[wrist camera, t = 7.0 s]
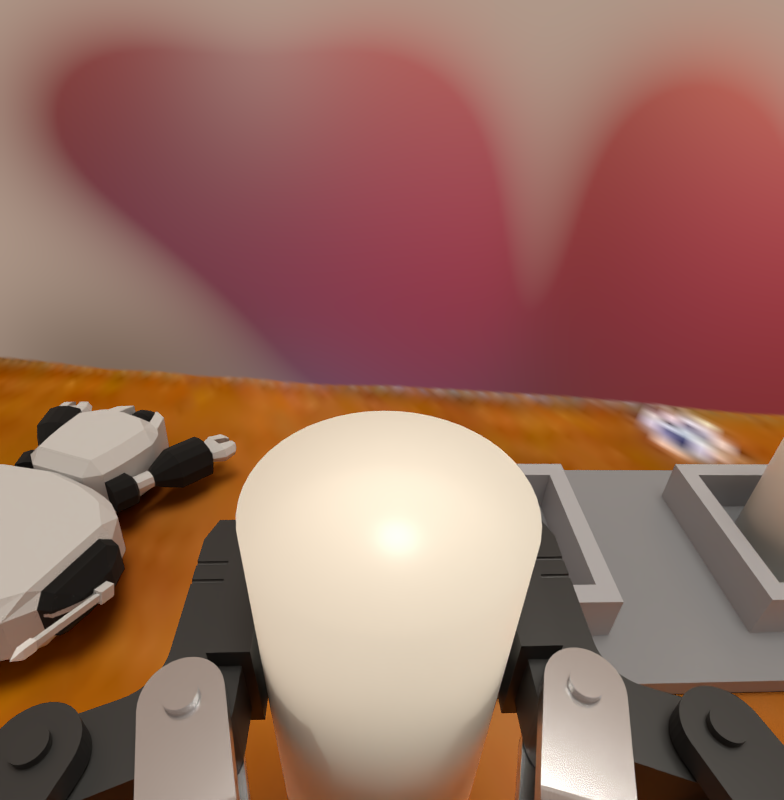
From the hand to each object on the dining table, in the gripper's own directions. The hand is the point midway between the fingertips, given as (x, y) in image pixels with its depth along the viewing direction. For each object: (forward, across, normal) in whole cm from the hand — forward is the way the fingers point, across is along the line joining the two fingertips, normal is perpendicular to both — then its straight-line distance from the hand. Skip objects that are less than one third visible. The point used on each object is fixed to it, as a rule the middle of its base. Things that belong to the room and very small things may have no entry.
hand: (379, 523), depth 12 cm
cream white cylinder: (-3, 0, +6) cm, 7 cm away
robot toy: (+10, +15, +12) cm, 21 cm away
